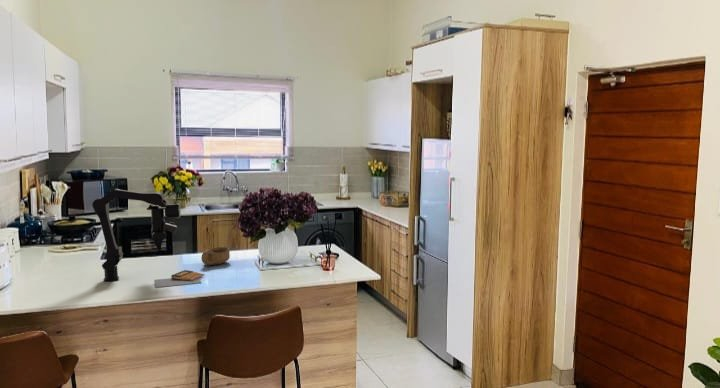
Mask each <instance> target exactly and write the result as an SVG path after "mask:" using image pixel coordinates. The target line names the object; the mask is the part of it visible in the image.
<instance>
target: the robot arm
mask: <svg viewBox="0 0 720 388" xmlns="http://www.w3.org/2000/svg"><path fill="white" fill-rule="evenodd" d="M116 199H126V200H132V201H141V202H144V203H146V204H149V205H148V207H146V210H147V211H151V212H150V214H151V216H150V217H151V240H153V242H154V245H155V247H156V249H157V251H159V252H160V251H162V246H163V245H162V243H163V240H165V239H167V233H166V232H170V233H172V234H176V232H177V229H178V225H175V222H174V221H170V222H169V223H168V222H166V220H165V217H166V218H167V219H180V218H181V209H180V208H181V207H180V204H179V203H175V204H174V203H172V204H170V203H168V202H167V200H166V199H165V195H164V194H163V193H162V192H160V191H155V192H154V191H152V192H151V191H150V192H142V191H141V192H140V191H132V190H126V189H119V188H115V189H112V190H111V191H110V192H109V193H107V194H105V196H101V197H99V198H96V199H95V200H94V201H92V205H91V206H92V209H93V211H94V212H95V214H96V216H97V217H98V219H99V223H100V227H101V230H102V233H103V237H104V241H105V246H106V252H105V256H106V260H105V261H104V262H103V263H102V264H101V267H102V269H103V272H104V278H103V282H112V281H113V282H115V281H119V280H120V276H119V275H118V273H119V272H118V271H119V270H118V264H119V263H120V262H121V261H122V259H123V257H124V256H123V255H124V252H123V246H118V244H117V242H116V237H115V235H114V230H113V226H112V223H111V222H112V221H111V219H110V204H111V203H112V202H113V201H114V200H116Z"/></svg>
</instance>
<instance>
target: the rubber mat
mask: <svg viewBox="0 0 720 388" xmlns="http://www.w3.org/2000/svg"><path fill="white" fill-rule="evenodd" d="M196 284H202V281H201V277H199V278H196V279H194V280H175V279H172V278H171V277H170V278H160V279H154V286H155V288H156V289H157V288H169V287H175V286H176V287H177V286H178V287H179V286H185V285H186V286H187V285H196Z"/></svg>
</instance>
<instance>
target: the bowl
mask: <svg viewBox="0 0 720 388" xmlns="http://www.w3.org/2000/svg"><path fill="white" fill-rule="evenodd" d="M230 249H231V248H230V247H228V246H217V247H212V248H208V249H206V250H204V251H203V252H202V255H201V262H202V264H204V265H206V266H216V265H222V264H224V263H225V262H226V263H227V261H229V260H230V258H231V256H230V255H231V253H230Z"/></svg>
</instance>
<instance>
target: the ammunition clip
mask: <svg viewBox="0 0 720 388" xmlns="http://www.w3.org/2000/svg"><path fill="white" fill-rule="evenodd" d="M203 276H205V274H204V273H201V272H196V271H194V270H187V269H184V270H182V271H178V272H176V273H174V274H171V277H170V278H172V279H175V280H194V279H196V278H201V277H203Z"/></svg>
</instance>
